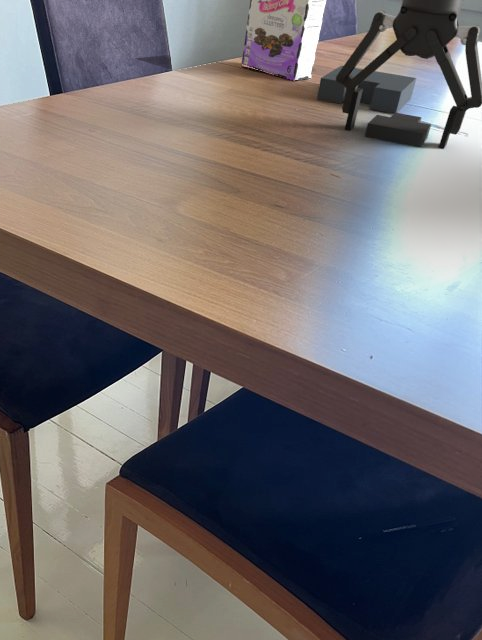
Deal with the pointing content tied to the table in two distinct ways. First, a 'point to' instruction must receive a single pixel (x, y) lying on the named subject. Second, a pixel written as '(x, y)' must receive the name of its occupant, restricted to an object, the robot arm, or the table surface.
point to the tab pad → (398, 129)
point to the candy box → (283, 36)
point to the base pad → (370, 90)
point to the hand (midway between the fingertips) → (392, 147)
